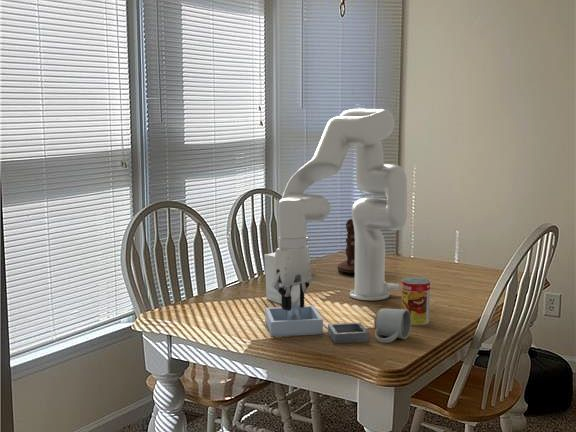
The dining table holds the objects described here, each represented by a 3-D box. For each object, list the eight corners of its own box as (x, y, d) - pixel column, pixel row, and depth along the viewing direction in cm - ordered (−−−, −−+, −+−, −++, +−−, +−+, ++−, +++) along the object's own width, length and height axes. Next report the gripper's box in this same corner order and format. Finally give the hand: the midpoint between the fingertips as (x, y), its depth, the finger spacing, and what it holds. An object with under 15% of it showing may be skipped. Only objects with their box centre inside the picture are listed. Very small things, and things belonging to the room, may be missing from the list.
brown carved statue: (356, 266, 284) (356, 213, 281) (386, 272, 273) (387, 218, 270) (329, 272, 274) (329, 218, 271) (359, 279, 263) (359, 222, 260)
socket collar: (360, 331, 205) (360, 322, 204) (368, 341, 196) (368, 332, 195) (327, 333, 203) (327, 324, 203) (334, 343, 195) (334, 334, 194)
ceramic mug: (383, 330, 206) (383, 302, 204) (411, 334, 202) (412, 306, 200) (367, 341, 197) (367, 313, 195) (397, 346, 193) (397, 317, 191)
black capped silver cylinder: (294, 315, 212) (294, 270, 210) (305, 319, 208) (305, 273, 206) (280, 318, 209) (280, 273, 207) (291, 322, 205) (291, 276, 203)
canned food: (399, 317, 217) (400, 276, 216) (427, 317, 217) (427, 276, 215) (403, 325, 210) (403, 283, 208) (431, 325, 209) (432, 283, 207)
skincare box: (295, 301, 235) (294, 255, 233) (278, 304, 232) (278, 257, 229) (280, 296, 242) (279, 250, 240) (264, 298, 239) (263, 252, 236)
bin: (313, 319, 216) (313, 305, 216) (322, 333, 203) (322, 319, 202) (265, 321, 214) (265, 307, 214) (271, 336, 201) (271, 322, 200)
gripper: (307, 237, 213) (307, 300, 216) (259, 244, 203) (260, 310, 205) (324, 241, 207) (324, 305, 210) (276, 249, 197) (277, 316, 200)
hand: (293, 307), depth 208 cm, fingers closed on black capped silver cylinder, 4 cm apart
